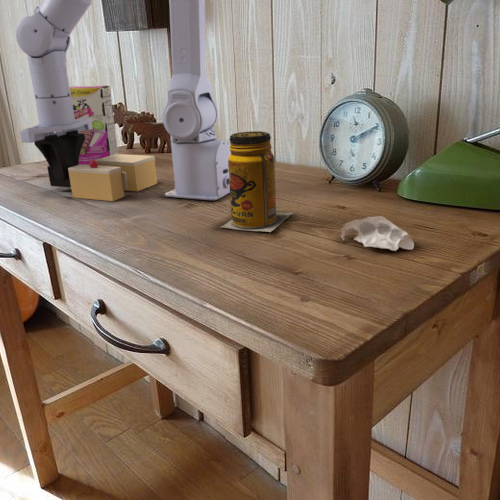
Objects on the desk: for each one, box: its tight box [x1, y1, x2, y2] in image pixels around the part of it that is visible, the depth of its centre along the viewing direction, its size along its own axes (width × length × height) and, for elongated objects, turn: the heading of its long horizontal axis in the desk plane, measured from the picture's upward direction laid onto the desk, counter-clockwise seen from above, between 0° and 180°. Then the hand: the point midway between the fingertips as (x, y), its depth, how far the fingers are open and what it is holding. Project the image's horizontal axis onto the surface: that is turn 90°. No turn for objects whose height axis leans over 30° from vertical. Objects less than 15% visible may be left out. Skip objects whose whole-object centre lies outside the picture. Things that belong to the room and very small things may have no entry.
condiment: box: [221, 130, 293, 233], centre depth 72 cm, size 7×8×12 cm
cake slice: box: [68, 160, 125, 202], centre depth 89 cm, size 8×3×6 cm, turn 65°
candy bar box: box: [55, 84, 119, 165], centre depth 110 cm, size 11×5×16 cm, turn 84°
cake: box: [95, 153, 158, 192], centre depth 96 cm, size 8×6×5 cm
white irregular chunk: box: [340, 215, 415, 252], centre depth 63 cm, size 6×8×4 cm
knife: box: [46, 165, 128, 191], centre depth 92 cm, size 16×2×4 cm, turn 65°
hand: (66, 177), depth 94 cm, fingers closed on knife, 2 cm apart
